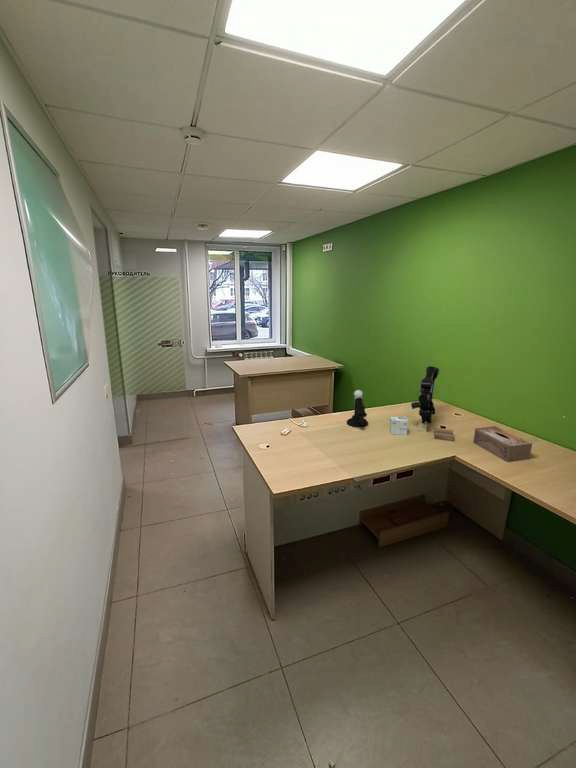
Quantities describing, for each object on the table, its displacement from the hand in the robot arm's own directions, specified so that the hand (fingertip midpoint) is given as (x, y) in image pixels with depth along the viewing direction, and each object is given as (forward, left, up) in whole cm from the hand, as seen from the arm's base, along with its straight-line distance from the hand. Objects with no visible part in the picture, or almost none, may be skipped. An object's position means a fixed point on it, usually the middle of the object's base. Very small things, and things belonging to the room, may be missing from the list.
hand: (423, 420), depth 226 cm
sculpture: (+6, -42, -7) cm, 43 cm away
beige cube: (0, 0, -7) cm, 7 cm away
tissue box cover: (+16, +43, -8) cm, 47 cm away
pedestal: (+6, +13, -7) cm, 16 cm away
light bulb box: (+10, -15, -7) cm, 20 cm away
